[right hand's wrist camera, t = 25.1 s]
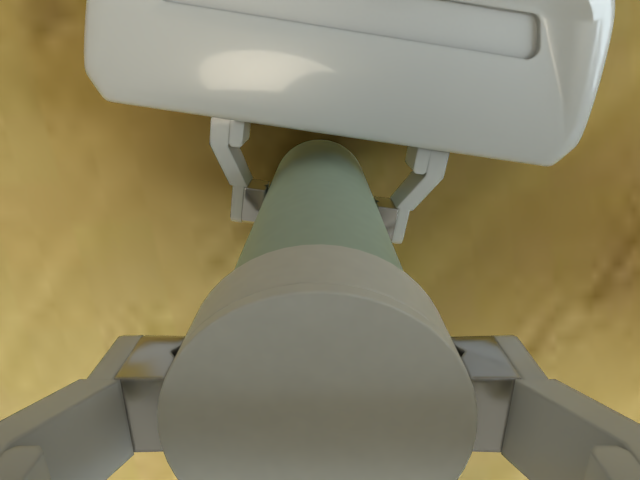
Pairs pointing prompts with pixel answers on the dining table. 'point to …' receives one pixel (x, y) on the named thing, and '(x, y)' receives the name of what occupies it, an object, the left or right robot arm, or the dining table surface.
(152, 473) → the dining table surface
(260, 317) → the lid
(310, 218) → the green tall cylinder
